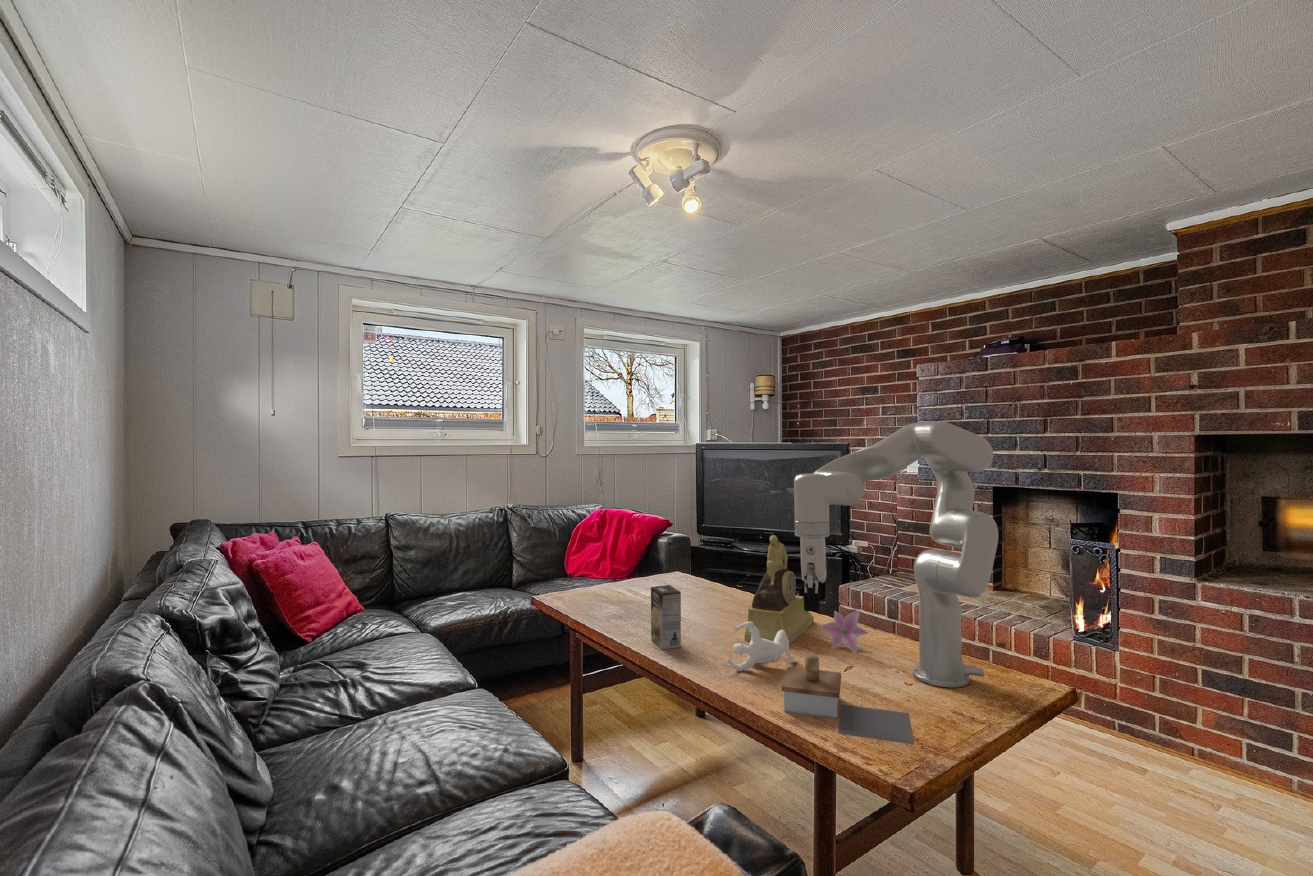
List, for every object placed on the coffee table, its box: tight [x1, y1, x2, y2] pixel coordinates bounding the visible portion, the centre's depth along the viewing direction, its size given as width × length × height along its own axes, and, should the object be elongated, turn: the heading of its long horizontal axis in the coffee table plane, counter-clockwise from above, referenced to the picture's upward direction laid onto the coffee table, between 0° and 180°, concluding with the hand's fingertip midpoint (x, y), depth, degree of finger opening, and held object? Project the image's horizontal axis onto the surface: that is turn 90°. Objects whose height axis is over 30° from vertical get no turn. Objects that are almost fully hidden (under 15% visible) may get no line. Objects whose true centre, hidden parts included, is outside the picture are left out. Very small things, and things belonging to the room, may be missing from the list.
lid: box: [781, 654, 842, 699], centre depth 134 cm, size 12×12×6 cm
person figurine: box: [725, 621, 798, 672], centre depth 157 cm, size 13×13×18 cm
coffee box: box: [650, 584, 682, 650], centre depth 177 cm, size 9×6×16 cm
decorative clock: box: [744, 534, 814, 646], centre depth 188 cm, size 28×13×30 cm, turn 150°
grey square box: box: [783, 691, 840, 720], centre depth 134 cm, size 11×11×5 cm
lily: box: [819, 609, 869, 653], centre depth 174 cm, size 12×12×10 cm
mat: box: [838, 704, 915, 745], centre depth 125 cm, size 14×14×1 cm
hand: (813, 605), depth 135 cm, fingers open, 9 cm apart
